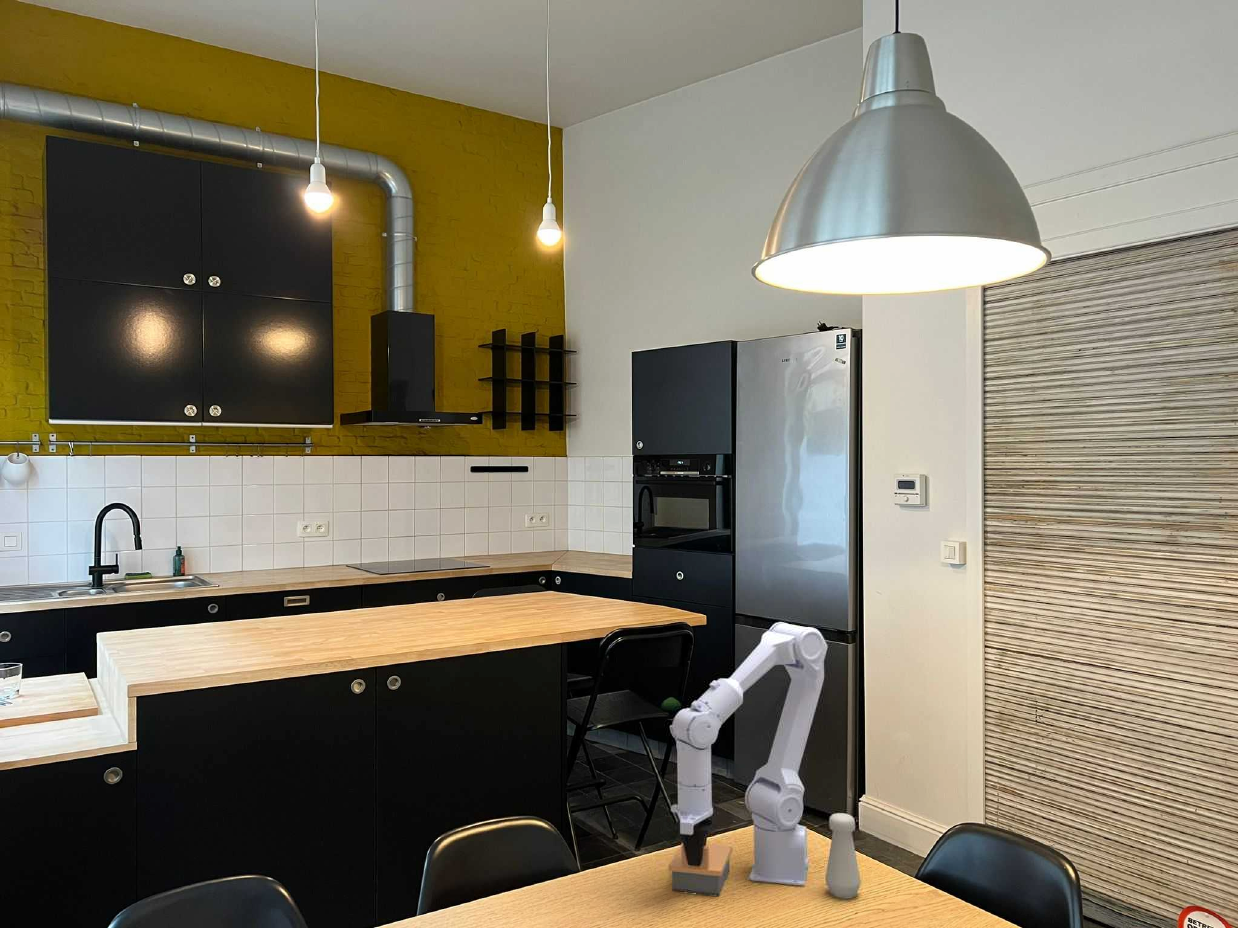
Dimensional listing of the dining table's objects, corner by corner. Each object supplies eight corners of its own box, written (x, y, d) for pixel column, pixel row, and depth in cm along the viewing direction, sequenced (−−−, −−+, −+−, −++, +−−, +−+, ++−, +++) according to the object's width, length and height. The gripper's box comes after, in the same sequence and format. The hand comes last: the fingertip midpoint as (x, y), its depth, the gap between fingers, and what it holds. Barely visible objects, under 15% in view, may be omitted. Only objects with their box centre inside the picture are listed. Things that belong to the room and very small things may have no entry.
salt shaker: (861, 902, 152) (860, 822, 153) (826, 899, 153) (824, 820, 154) (859, 887, 158) (858, 810, 158) (825, 885, 159) (824, 808, 160)
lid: (732, 854, 166) (732, 826, 166) (721, 880, 154) (720, 850, 155) (683, 850, 168) (683, 822, 169) (668, 875, 157) (668, 845, 157)
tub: (729, 871, 165) (729, 851, 166) (718, 896, 155) (718, 875, 155) (685, 866, 168) (685, 846, 168) (672, 891, 157) (672, 870, 157)
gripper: (680, 768, 165) (681, 845, 164) (661, 792, 151) (662, 877, 151) (719, 770, 163) (720, 848, 163) (704, 796, 149) (705, 881, 149)
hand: (695, 862), depth 156 cm, fingers closed on lid
